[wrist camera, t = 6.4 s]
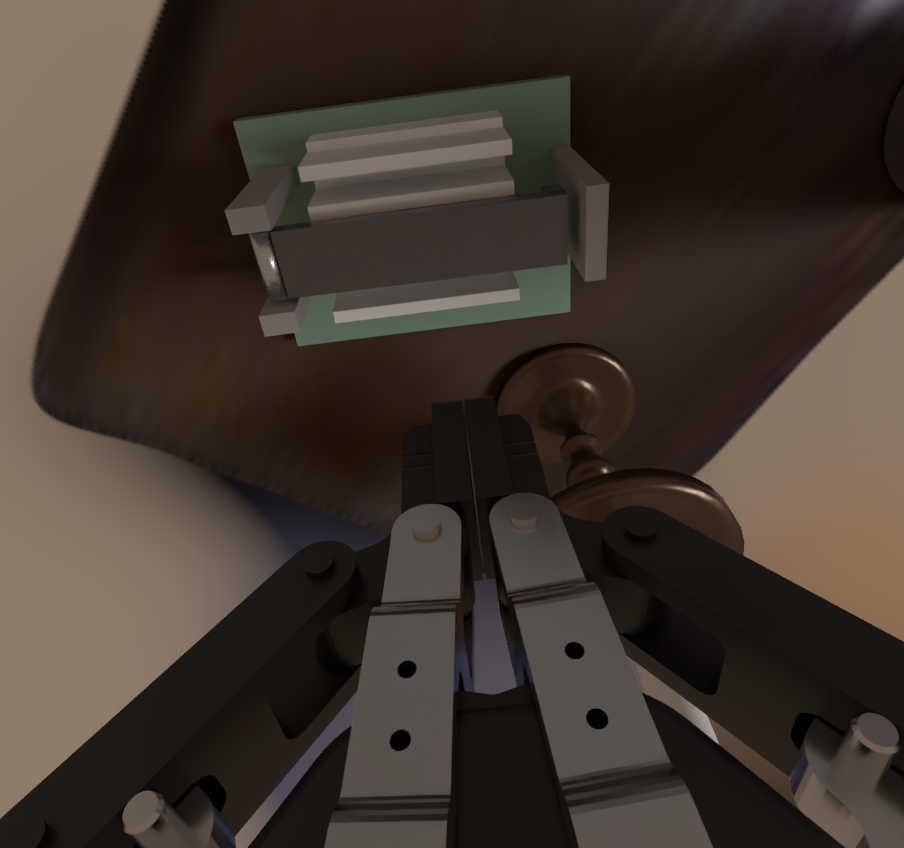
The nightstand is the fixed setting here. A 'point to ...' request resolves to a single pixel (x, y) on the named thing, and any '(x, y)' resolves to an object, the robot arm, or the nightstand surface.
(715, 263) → the nightstand surface
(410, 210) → the strap
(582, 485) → the candlestick
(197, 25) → the nightstand surface
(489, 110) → the heatsink board
